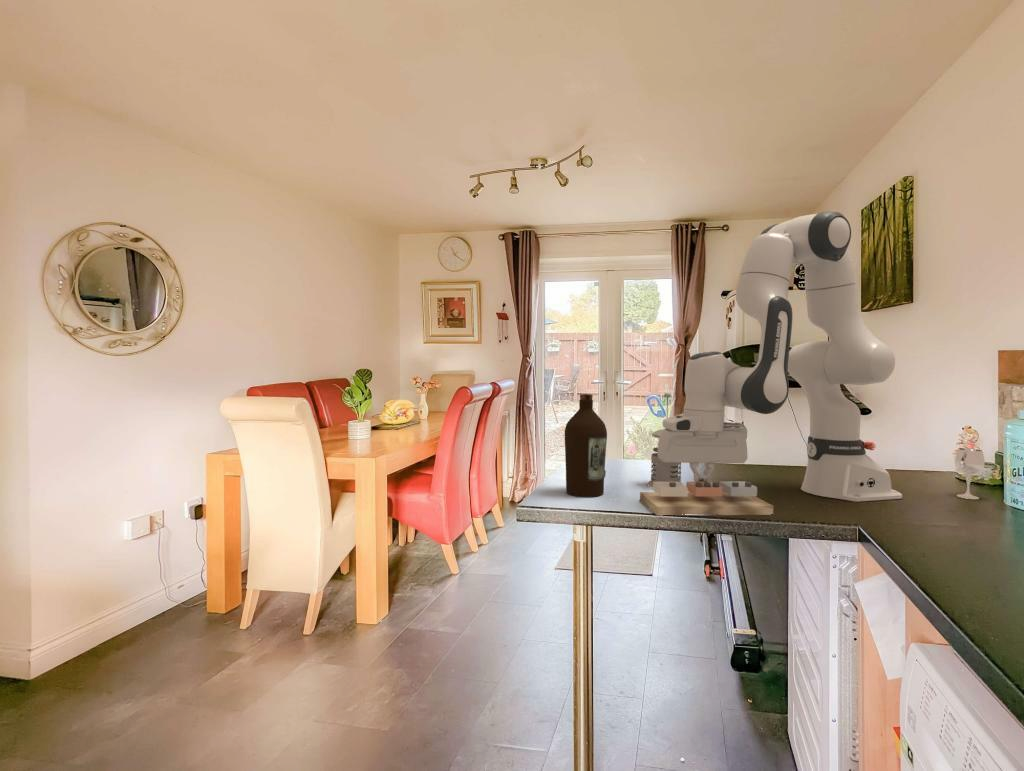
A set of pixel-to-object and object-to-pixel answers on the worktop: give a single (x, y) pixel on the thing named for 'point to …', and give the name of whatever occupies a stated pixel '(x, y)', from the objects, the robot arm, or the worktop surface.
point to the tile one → (670, 489)
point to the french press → (663, 463)
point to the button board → (705, 504)
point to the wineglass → (969, 466)
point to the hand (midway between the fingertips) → (701, 481)
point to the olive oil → (585, 451)
